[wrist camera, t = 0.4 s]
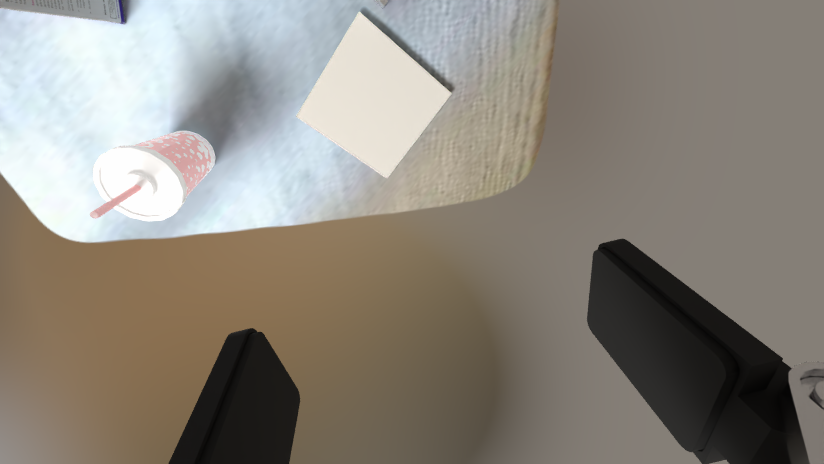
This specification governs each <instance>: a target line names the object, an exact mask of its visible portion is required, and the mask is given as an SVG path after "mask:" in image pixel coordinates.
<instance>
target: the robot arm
mask: <svg viewBox="0 0 824 464" xmlns="http://www.w3.org/2000/svg"><path fill="white" fill-rule="evenodd" d="M587 322H588V326H589V328H590V330H591V331H592V333H593V334H594V335H595V337H596V338H597V339H598V340H599V342H600V343H601V344H602V345H603V347H604V348H605V349H606V350H607V352H608V353H609V355H610V356H611V357H612V358H613V360H614V361H615V362H616V364H617V365H618V366H619V367H620V369H621V370H622V371H623V372H624V374H625V375H626V376H627V377H628V379H629V380H630V381H631V383H632V384H633V385H634V387H635V388H636V389H637V390H638V392H639V393H640V394H641V396H642V397H643V398H644V399H645V400H646V402H647V403H648V404H649V406H650V407H651V408H652V410H653V411H654V412H655V413H656V415H657V416H658V417H659V419H660V420H661V421H662V422H663V424H664V425H665V426H666V427H667V429H668V430H669V431H670V433H671V434H672V435H673V436H674V438H675V439H676V440H677V441H678V443H679V444H680V445H681V446H682V447H683V448H684V449H685V450H687V451H689V452H693V453H694V454H695V455H696V456H697V458H698V459H699V460H700V461H701V463H702V464H709V463H713V462H717V461H722V460H727V461H728V462H729V463H730V464H824V363H823V362H804V363H801V364H798V365H795V366H794V367H793V368H790V367H789V366H788V365H786V364H785V363H784V362H782V360H783V358H782V357H780V356H779V355H777V354H776V353H775V352H774V351H772V350H771V349H770V348H768V347H767V346H766V345H765V344H763V343H762V342H761V341H759V340H758V339H757V338H755V337H754V336H753V335H751V334H750V333H749V332H747V331H746V330H745V329H743V328H742V327H741V326H739V325H738V324H737V323H736V322H734V321H733V320H732V319H730V318H729V317H728V316H726V315H725V314H724V313H722V312H721V311H720V310H718V309H717V308H716V307H714V306H713V305H712V304H710V303H709V302H708V301H706V300H705V299H704V298H702V297H701V296H700V295H699V294H697V293H696V292H695V291H693V290H692V289H691V288H689V287H688V286H687V285H685V284H684V283H683V282H681V281H680V280H679V279H677V278H676V277H675V276H673V275H672V274H671V273H670V272H668V271H667V270H666V269H664V268H663V267H662V266H660V265H659V264H658V263H656V262H655V261H654V260H652V259H651V258H650V257H648V256H647V255H646V254H644V253H643V252H642V251H640V250H639V249H638V248H637V247H635V246H634V245H633V244H631V243H630V242H628V241H627V240H625V239H618V240H614V241H610V242H606V243H602V244H600V245H599V247H598V250H596V251H594V253H593V262H592V273H591V283H590V293H589V305H588V316H587ZM299 404H300V395H299V391H298V389H297V387H296V386H295V384H294V382H293V381H292V379H291V377H290V376H289V374H288V372H287V371H286V370H285V368H284V366H283V365H282V363H281V361H280V360H279V358H278V356H277V355H276V353H275V351H274V350H273V348H272V347H271V345H270V343H269V342H268V340H267V339H266V337H265V335H264V334H263V333H262V332H257V331H256V330H255V329H253V328H250V329H246V330H242V331H238V332H234V333H231V334H229V335H228V337H227V339H226V340H225V343H224V345H223V347H222V349H221V351H220V353H219V356H218V358H217V360H216V362H215V364H214V367H213V369H212V371H211V373H210V375H209V377H208V380H207V382H206V384H205V386H204V388H203V390H202V392H201V395H200V397H199V399H198V401H197V403H196V405H195V407H194V410H193V412H192V414H191V416H190V418H189V420H188V423H187V425H186V427H185V429H184V431H183V434H182V436H181V438H180V440H179V442H178V444H177V447H176V449H175V451H174V453H173V455H172V457H171V459H170V462H169V464H289V461H290V455H291V449H292V444H293V438H294V433H295V427H296V421H297V416H298V409H299Z"/></svg>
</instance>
